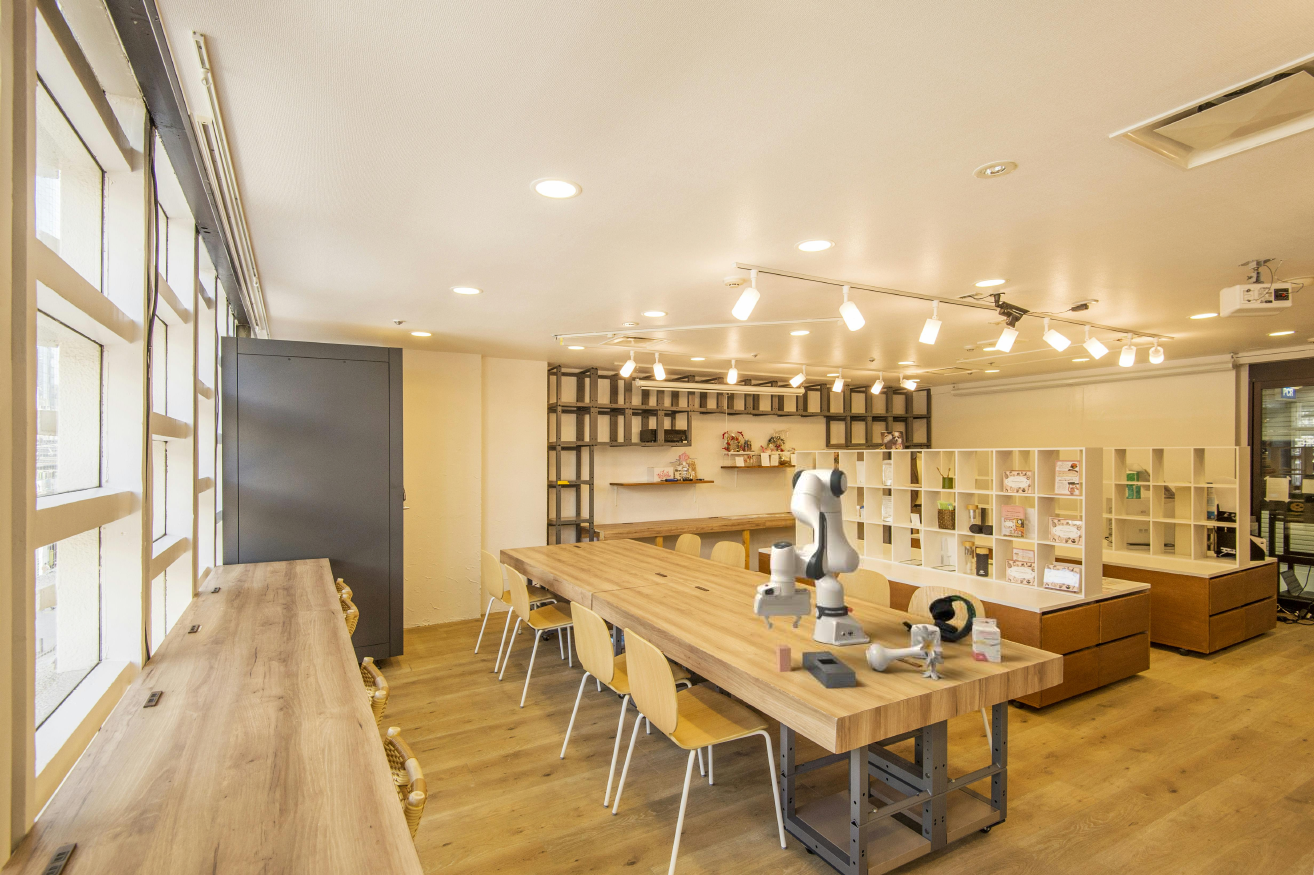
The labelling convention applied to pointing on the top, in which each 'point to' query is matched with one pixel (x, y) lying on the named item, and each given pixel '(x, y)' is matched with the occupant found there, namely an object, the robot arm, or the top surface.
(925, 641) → the flower vase
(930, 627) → the photo printer
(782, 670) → the terracotta peg
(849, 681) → the rail
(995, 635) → the ink cartridge box
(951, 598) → the headset
